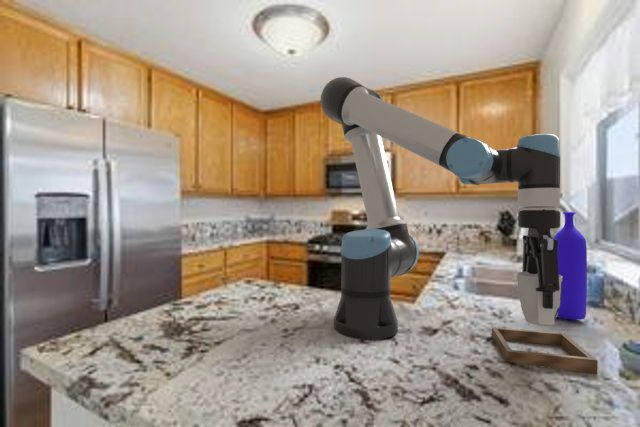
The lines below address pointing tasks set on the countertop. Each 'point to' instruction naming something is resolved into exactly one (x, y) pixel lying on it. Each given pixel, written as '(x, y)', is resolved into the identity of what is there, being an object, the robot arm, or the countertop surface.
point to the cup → (534, 297)
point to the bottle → (572, 270)
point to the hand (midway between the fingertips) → (539, 317)
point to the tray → (576, 362)
